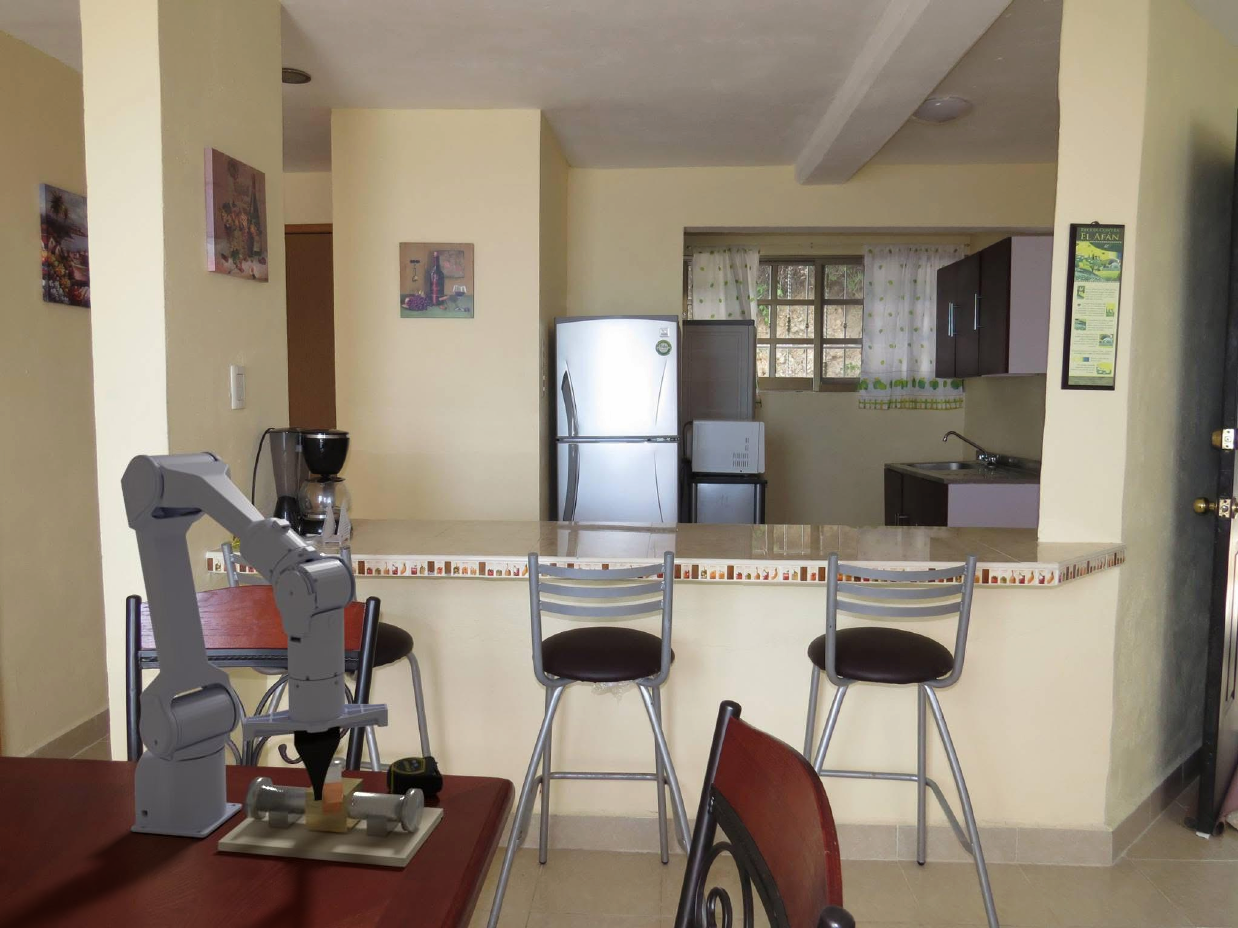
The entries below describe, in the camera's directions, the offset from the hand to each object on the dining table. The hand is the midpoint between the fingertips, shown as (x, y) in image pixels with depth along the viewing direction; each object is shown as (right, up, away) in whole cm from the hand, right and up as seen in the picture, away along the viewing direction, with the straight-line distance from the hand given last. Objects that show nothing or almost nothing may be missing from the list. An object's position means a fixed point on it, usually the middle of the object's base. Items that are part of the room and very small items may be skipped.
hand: (318, 796), depth 97 cm
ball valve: (-1, -7, +8) cm, 11 cm away
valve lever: (+1, 0, +3) cm, 3 cm away
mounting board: (-1, -7, +8) cm, 11 cm away
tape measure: (+6, -7, +20) cm, 22 cm away
